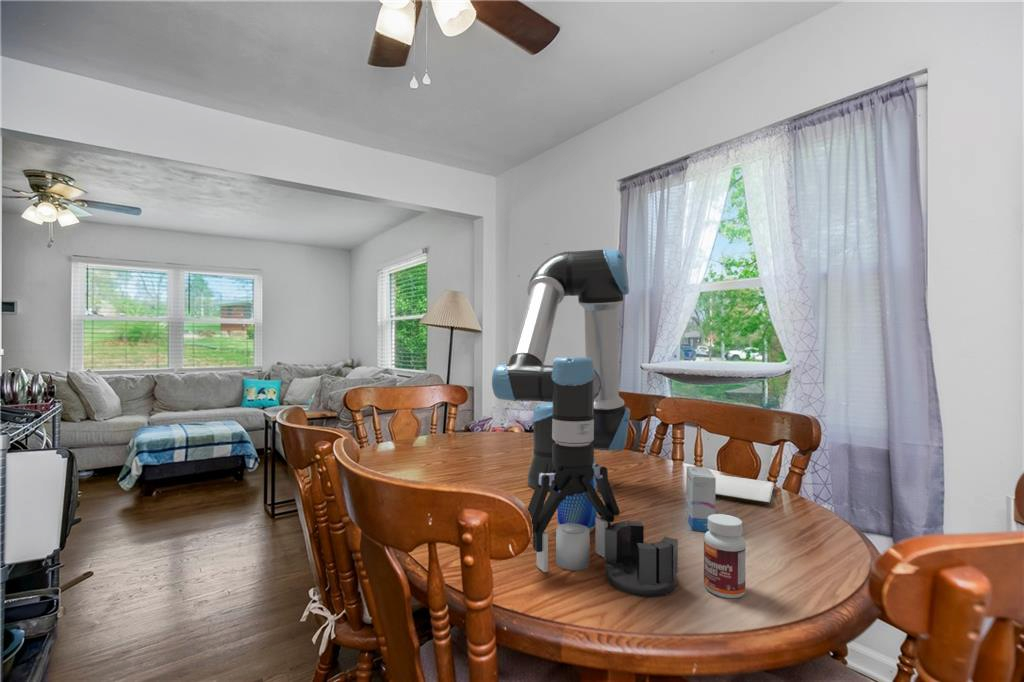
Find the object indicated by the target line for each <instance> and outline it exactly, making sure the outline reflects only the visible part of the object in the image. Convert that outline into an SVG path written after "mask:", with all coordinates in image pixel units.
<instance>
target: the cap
mask: <svg viewBox="0 0 1024 682" xmlns="http://www.w3.org/2000/svg"><path fill="white" fill-rule="evenodd" d="M590 533H591V532H590V530H589V528H588V527H586V526H584V525H581V524H576V523H565V524H561V525H557V526H556V529H555V563H556V565H557V566H558V567H560V568H561V569H564V570H568V571H582V570H586V569H587V568H589V566H590V535H591V534H590Z"/></svg>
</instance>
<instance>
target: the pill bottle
mask: <svg viewBox="0 0 1024 682" xmlns="http://www.w3.org/2000/svg"><path fill="white" fill-rule="evenodd" d="M707 528H708V530H709V531H708V532H707V531H705V533H704V537H703V539H704V540H703V585H704V587H705V588H706V590H707V591H709V592H710V593H712V594H713V595H715V596H718V597H721V598H726V599H738V598H741V597H743V596H744V595H745V593H746V541H745V539H744V537H743V536H742V534H743V521H742V520H741V519H740V518H738V517H737V516H733V515H729V514H723V513H715V514H713V515H710V516H708V525H707Z"/></svg>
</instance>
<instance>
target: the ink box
mask: <svg viewBox="0 0 1024 682" xmlns="http://www.w3.org/2000/svg"><path fill="white" fill-rule="evenodd" d="M713 474H714V473H713V472H712V471H711V470H710V469H709V467H701V466H700V467H699V466H691V465H690V466H689V465H688V466H686V477H685V479H686V482H685V483H686V484H685V517H684V518H685V519H686V521H687V523H688V525H689V528H690V529H691V531H697V532H708V531H709V530H708V528H707V525H708V516H710V515H713V514H716V497H715V492H716V478H715V476H714V475H713Z"/></svg>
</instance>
